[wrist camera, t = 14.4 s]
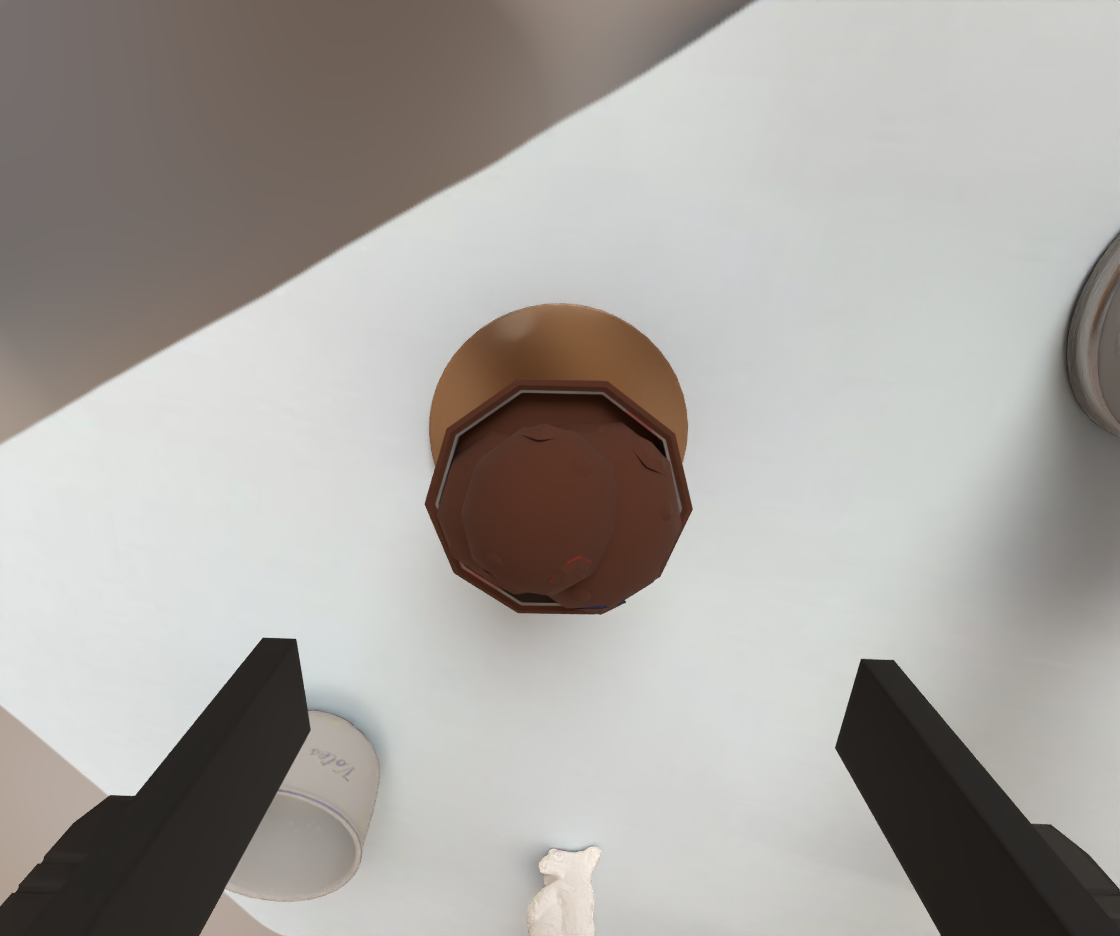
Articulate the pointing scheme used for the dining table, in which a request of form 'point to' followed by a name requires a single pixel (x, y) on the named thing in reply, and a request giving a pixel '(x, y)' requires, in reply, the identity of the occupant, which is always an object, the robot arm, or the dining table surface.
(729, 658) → the dining table surface
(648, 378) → the brown round coaster
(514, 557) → the ice cream bowl
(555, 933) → the koala figurine
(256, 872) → the teacup
